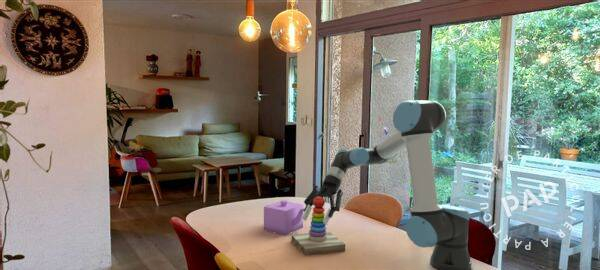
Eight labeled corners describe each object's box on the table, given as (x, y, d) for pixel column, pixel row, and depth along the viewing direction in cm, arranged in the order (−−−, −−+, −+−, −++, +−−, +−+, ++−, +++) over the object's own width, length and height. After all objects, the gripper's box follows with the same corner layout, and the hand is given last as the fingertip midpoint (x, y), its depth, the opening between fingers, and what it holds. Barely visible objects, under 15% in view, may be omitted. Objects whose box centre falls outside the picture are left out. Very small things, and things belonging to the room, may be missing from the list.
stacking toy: (325, 242, 181) (326, 199, 179) (307, 241, 183) (307, 198, 181) (328, 236, 189) (328, 195, 187) (310, 235, 191) (310, 194, 189)
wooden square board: (345, 250, 181) (345, 243, 180) (305, 255, 175) (305, 248, 174) (328, 237, 198) (328, 231, 197) (291, 241, 192) (291, 234, 191)
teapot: (298, 238, 196) (298, 208, 195) (255, 228, 209) (255, 200, 208) (315, 230, 208) (315, 201, 207) (274, 221, 222) (274, 194, 221)
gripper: (358, 187, 190) (340, 230, 179) (316, 181, 203) (296, 221, 191) (353, 177, 185) (333, 221, 174) (310, 171, 198) (289, 211, 187)
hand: (314, 221), depth 183 cm, fingers open, 10 cm apart
